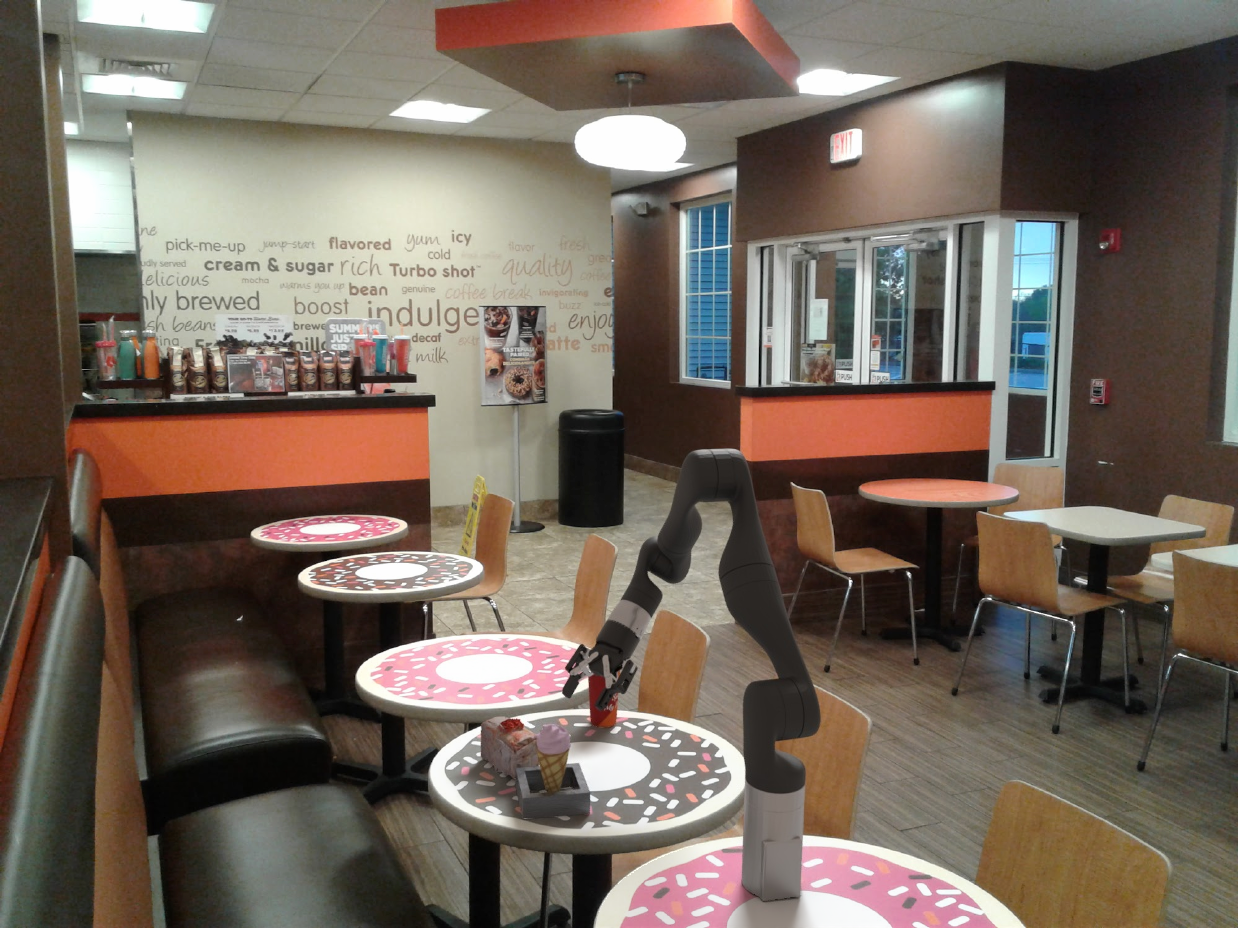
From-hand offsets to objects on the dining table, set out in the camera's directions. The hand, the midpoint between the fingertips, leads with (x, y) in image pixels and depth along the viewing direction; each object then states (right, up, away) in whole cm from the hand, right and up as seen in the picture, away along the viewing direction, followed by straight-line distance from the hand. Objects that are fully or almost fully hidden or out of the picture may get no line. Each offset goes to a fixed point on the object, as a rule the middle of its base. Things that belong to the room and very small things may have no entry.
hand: (581, 702), depth 185 cm
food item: (-14, -15, +10) cm, 23 cm away
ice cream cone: (-5, -17, -3) cm, 18 cm away
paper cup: (+4, -12, +32) cm, 35 cm away
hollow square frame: (-5, -17, -3) cm, 18 cm away
